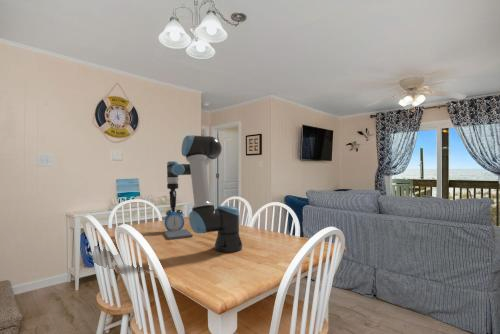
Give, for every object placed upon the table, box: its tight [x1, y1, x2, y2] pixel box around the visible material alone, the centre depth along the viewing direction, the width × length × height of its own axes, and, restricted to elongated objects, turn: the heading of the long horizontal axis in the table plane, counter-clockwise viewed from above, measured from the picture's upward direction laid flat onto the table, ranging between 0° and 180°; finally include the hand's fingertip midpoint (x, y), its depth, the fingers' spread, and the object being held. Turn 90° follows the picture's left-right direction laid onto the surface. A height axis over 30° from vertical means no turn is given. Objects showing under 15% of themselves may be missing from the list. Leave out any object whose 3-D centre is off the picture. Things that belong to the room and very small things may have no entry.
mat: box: [163, 228, 193, 241], centre depth 180 cm, size 16×15×2 cm
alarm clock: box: [164, 209, 185, 231], centre depth 191 cm, size 13×6×15 cm, turn 107°
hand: (172, 216), depth 196 cm, fingers closed
